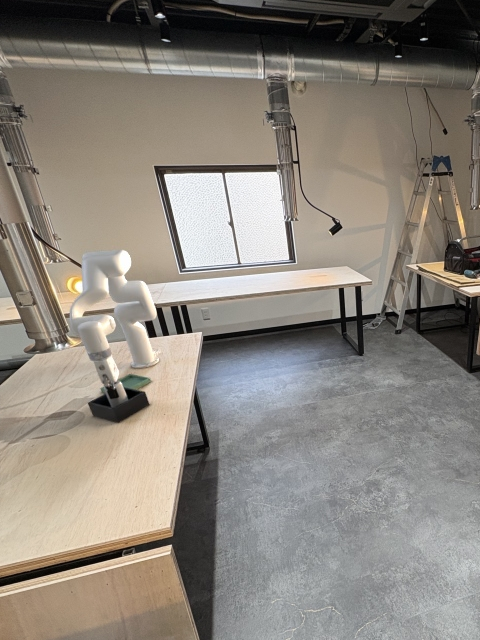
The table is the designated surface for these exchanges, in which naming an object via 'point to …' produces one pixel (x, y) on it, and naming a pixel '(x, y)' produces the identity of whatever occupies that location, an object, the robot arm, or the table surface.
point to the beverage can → (120, 391)
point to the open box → (119, 406)
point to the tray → (132, 382)
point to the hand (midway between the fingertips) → (115, 393)
